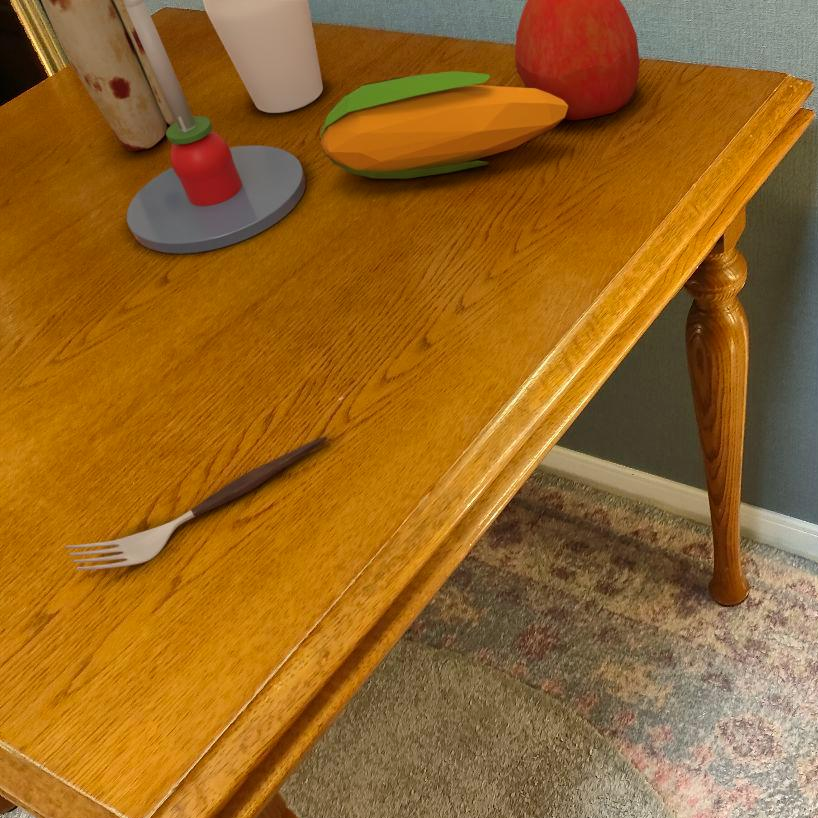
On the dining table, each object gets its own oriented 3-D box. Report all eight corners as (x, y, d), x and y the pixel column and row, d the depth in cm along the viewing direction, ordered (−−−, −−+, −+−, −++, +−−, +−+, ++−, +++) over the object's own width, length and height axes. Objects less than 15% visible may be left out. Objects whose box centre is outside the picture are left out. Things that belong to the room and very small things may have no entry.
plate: (109, 264, 80) (103, 254, 79) (157, 168, 90) (152, 158, 89) (289, 240, 78) (285, 229, 77) (318, 145, 88) (315, 134, 87)
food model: (120, 122, 97) (8, -111, 83) (187, 106, 98) (87, -130, 83) (109, 169, 91) (-14, -74, 76) (181, 153, 91) (72, -94, 76)
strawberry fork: (181, 210, 82) (88, 11, 70) (194, 179, 85) (108, -16, 73) (237, 202, 81) (153, 0, 70) (248, 172, 84) (170, -26, 73)
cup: (245, 129, 92) (192, -8, 83) (242, 89, 98) (192, -43, 89) (340, 105, 93) (297, -35, 84) (331, 66, 99) (290, -68, 90)
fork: (339, 454, 61) (328, 430, 59) (94, 593, 56) (77, 571, 55) (320, 433, 63) (309, 409, 61) (81, 566, 58) (63, 544, 56)
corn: (312, 69, 80) (560, 29, 78) (341, 154, 86) (572, 120, 84) (299, 119, 75) (562, 79, 73) (331, 206, 81) (575, 171, 79)
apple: (500, 114, 87) (477, -15, 79) (585, 65, 90) (571, -62, 82) (582, 146, 81) (565, 11, 73) (669, 93, 84) (662, -42, 77)
